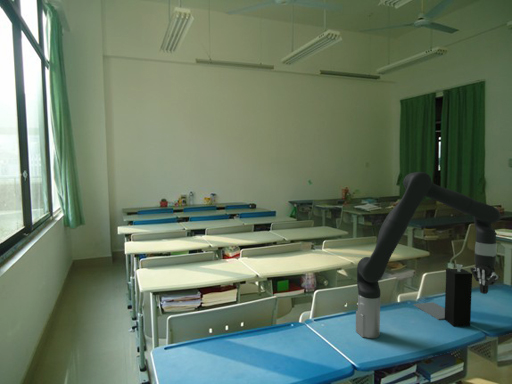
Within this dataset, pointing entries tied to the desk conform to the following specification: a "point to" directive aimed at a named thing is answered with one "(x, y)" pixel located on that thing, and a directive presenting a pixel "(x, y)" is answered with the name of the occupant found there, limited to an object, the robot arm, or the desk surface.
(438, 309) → the rubber mat
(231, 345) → the desk surface
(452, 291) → the black rectangular bar
